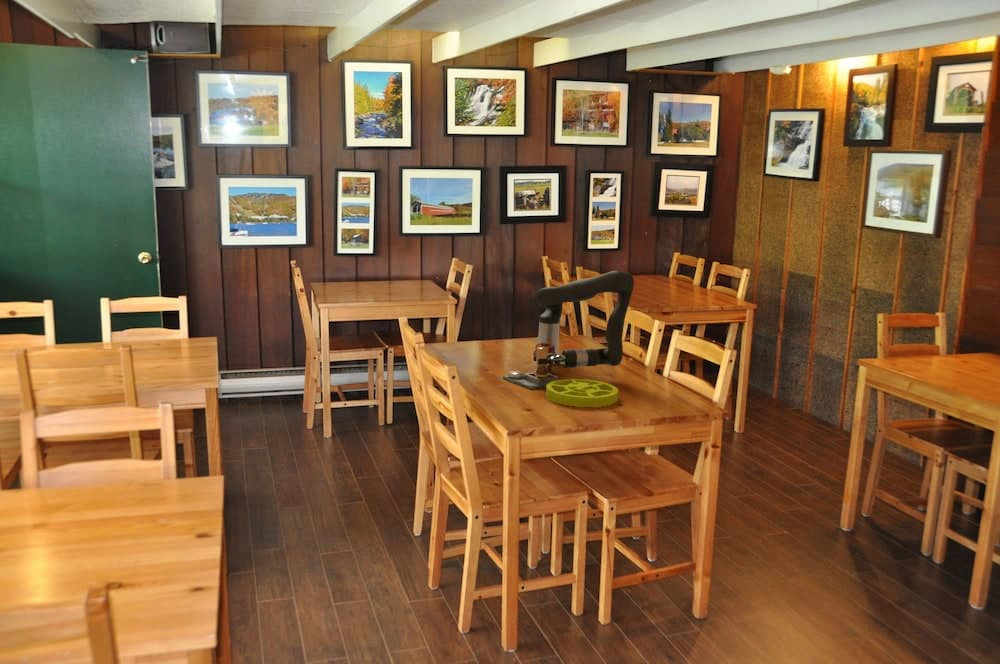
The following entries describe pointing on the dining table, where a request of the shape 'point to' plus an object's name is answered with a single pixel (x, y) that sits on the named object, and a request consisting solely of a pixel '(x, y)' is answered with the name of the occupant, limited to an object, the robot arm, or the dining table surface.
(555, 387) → the pulley
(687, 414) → the dining table surface
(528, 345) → the dining table surface
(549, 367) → the mechanical component
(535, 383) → the carrier plate
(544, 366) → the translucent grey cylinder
